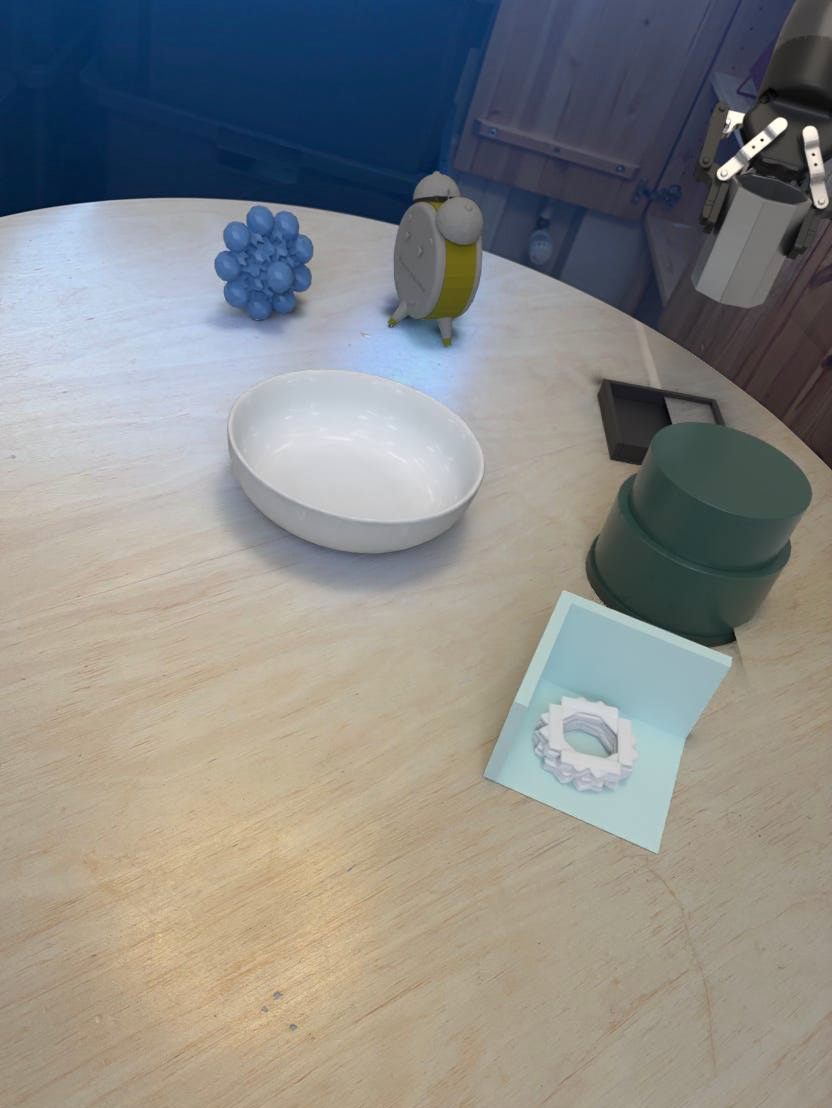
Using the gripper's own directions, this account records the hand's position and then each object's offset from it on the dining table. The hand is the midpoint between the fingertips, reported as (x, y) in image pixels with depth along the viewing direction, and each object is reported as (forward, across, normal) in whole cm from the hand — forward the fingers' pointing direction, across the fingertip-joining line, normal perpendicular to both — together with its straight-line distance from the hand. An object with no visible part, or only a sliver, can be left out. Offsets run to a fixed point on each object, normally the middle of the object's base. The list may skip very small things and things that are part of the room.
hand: (750, 242), depth 85 cm
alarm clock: (+9, -29, +21) cm, 37 cm away
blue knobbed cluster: (+16, -43, +14) cm, 47 cm away
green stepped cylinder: (+30, +3, -1) cm, 31 cm away
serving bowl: (+34, -24, -4) cm, 42 cm away
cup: (+2, 0, +5) cm, 5 cm away
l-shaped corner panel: (+46, 0, -17) cm, 49 cm away
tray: (+14, 0, +16) cm, 21 cm away
